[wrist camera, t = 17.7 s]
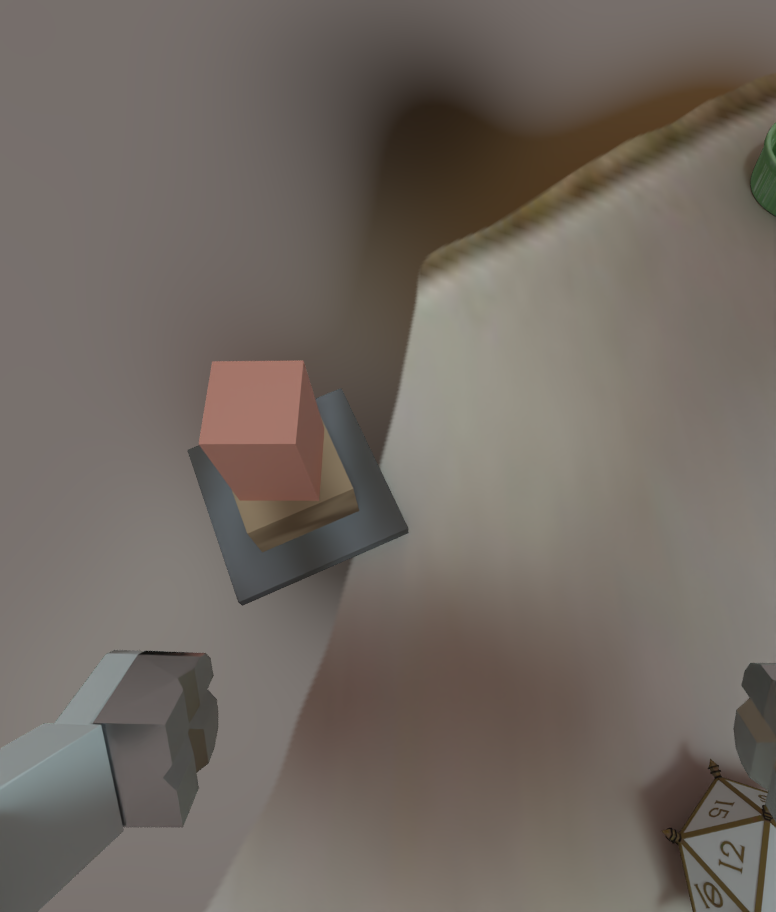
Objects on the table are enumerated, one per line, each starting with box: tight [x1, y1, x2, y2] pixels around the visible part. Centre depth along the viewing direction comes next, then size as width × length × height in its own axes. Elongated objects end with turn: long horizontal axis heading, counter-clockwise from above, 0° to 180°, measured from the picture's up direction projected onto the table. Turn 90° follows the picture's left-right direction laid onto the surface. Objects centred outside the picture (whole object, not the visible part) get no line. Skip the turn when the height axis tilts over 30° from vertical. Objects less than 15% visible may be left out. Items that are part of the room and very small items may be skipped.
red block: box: [199, 361, 324, 501], centre depth 37 cm, size 5×5×8 cm
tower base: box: [188, 389, 408, 605], centre depth 43 cm, size 12×12×5 cm
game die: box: [662, 759, 776, 912], centre depth 31 cm, size 9×8×10 cm
